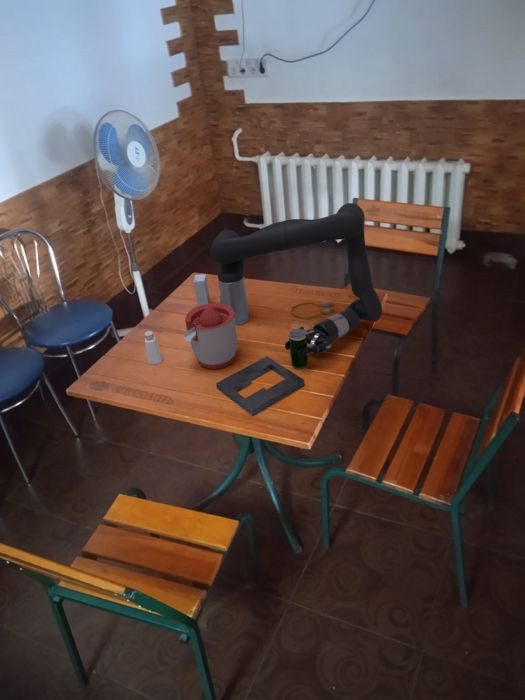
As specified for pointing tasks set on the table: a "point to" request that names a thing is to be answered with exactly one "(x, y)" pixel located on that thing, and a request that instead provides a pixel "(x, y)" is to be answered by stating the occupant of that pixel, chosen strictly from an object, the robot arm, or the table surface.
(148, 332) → the pepper shaker
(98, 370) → the table surface
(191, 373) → the table surface
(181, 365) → the table surface
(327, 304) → the extension cord
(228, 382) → the keyhole plate
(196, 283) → the skincare box
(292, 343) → the green drink can
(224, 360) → the citrus juicer
